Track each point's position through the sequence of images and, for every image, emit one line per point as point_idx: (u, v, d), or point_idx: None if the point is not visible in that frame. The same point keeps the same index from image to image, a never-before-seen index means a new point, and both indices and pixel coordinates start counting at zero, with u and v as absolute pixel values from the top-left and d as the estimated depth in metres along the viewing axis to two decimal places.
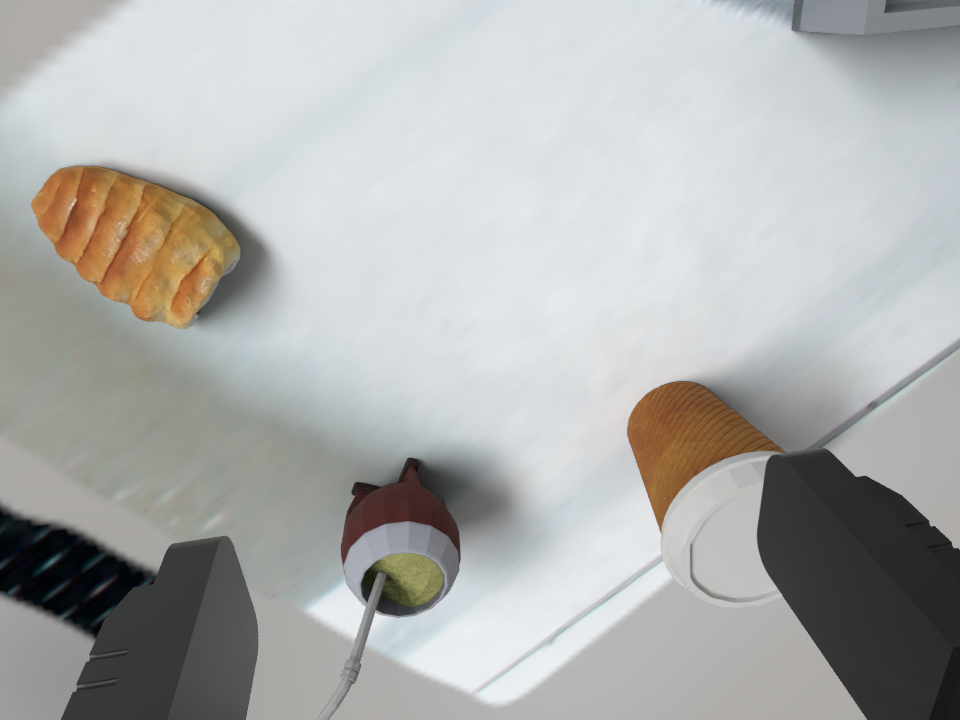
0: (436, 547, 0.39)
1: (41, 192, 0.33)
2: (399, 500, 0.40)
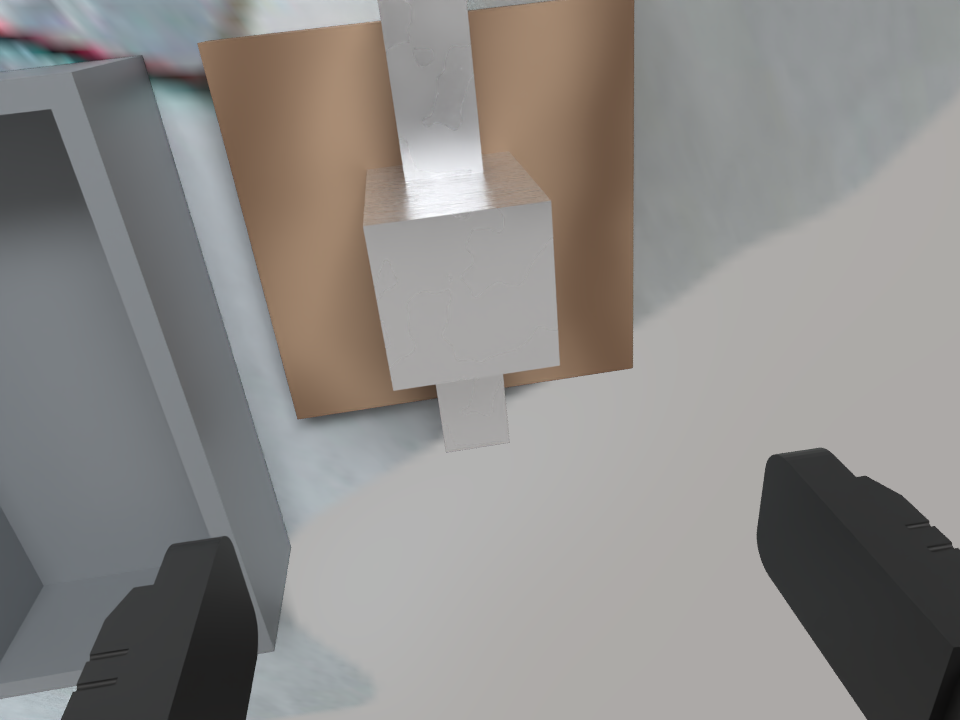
0: None
1: None
2: None
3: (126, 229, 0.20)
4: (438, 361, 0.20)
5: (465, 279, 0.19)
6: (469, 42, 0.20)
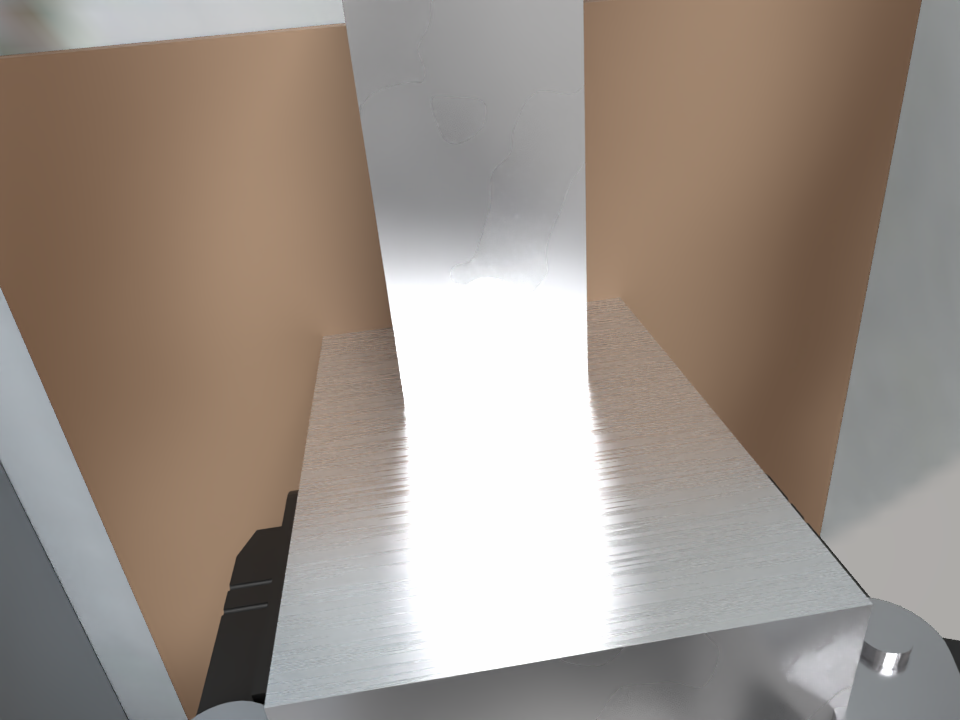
0: None
1: None
2: None
3: None
4: None
5: None
6: (580, 83, 0.08)
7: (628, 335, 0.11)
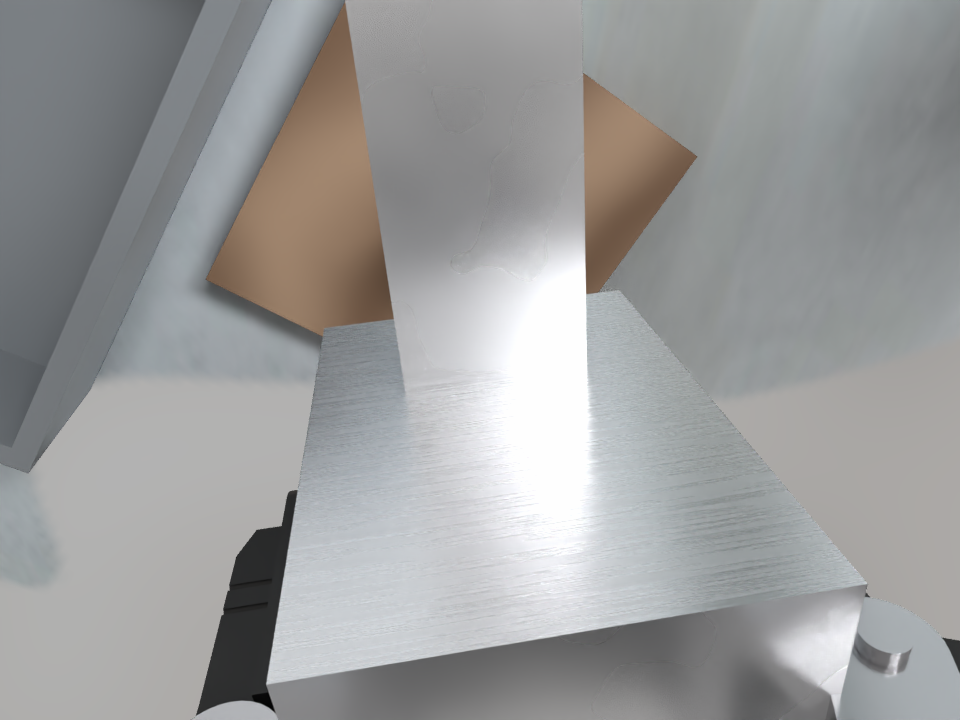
0: None
1: None
2: None
3: (236, 12, 0.19)
4: None
5: None
6: (579, 73, 0.08)
7: (627, 326, 0.11)
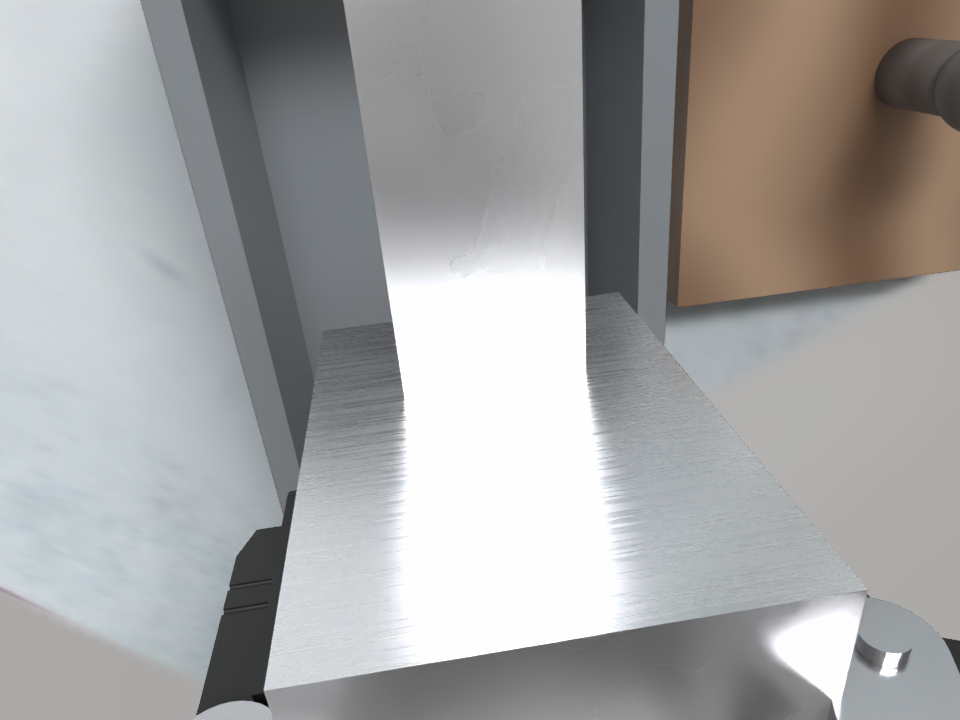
0: None
1: None
2: None
3: (678, 7, 0.16)
4: None
5: None
6: (578, 76, 0.08)
7: (626, 329, 0.11)
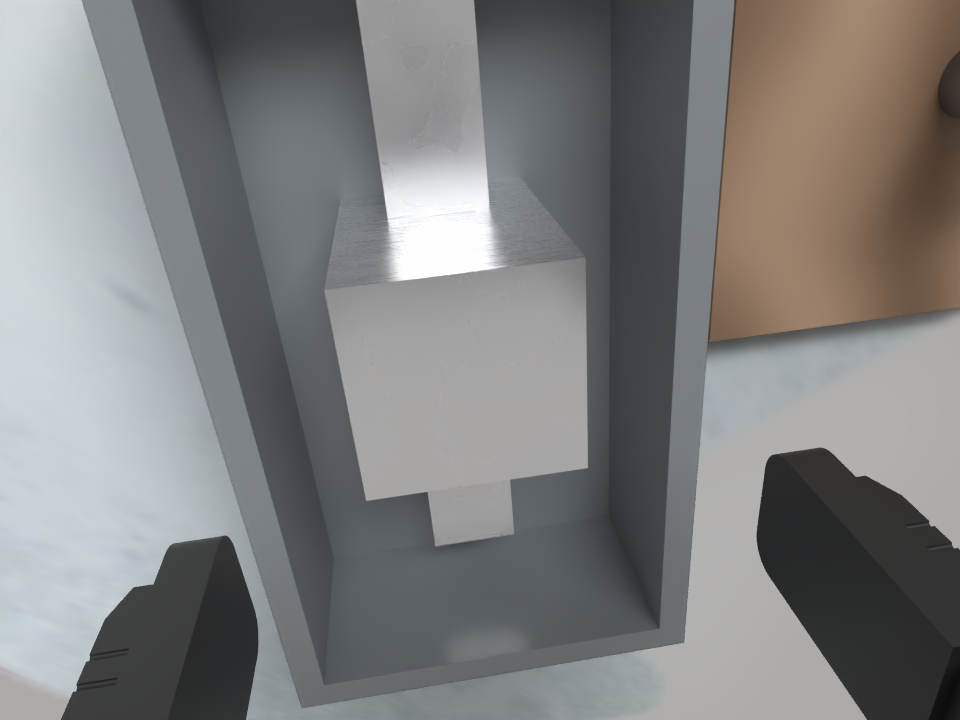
0: None
1: None
2: None
3: (733, 3, 0.13)
4: (427, 464, 0.15)
5: (465, 360, 0.14)
6: (475, 38, 0.15)
7: (518, 192, 0.18)
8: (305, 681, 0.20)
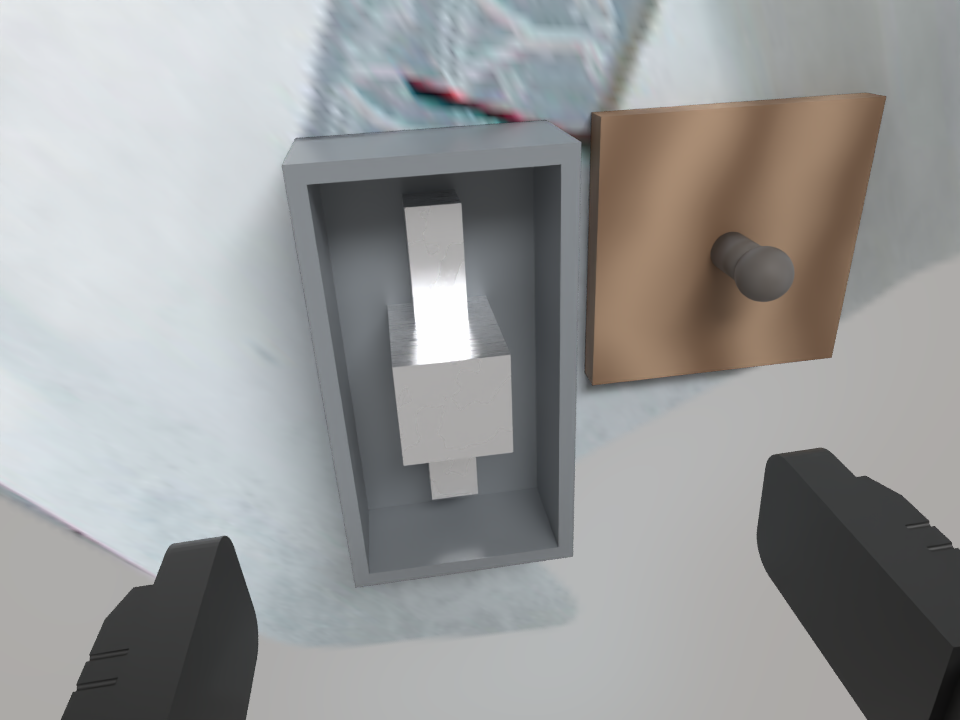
0: None
1: None
2: None
3: None
4: (434, 448, 0.31)
5: (454, 399, 0.30)
6: (462, 241, 0.31)
7: (483, 306, 0.34)
8: (358, 571, 0.36)
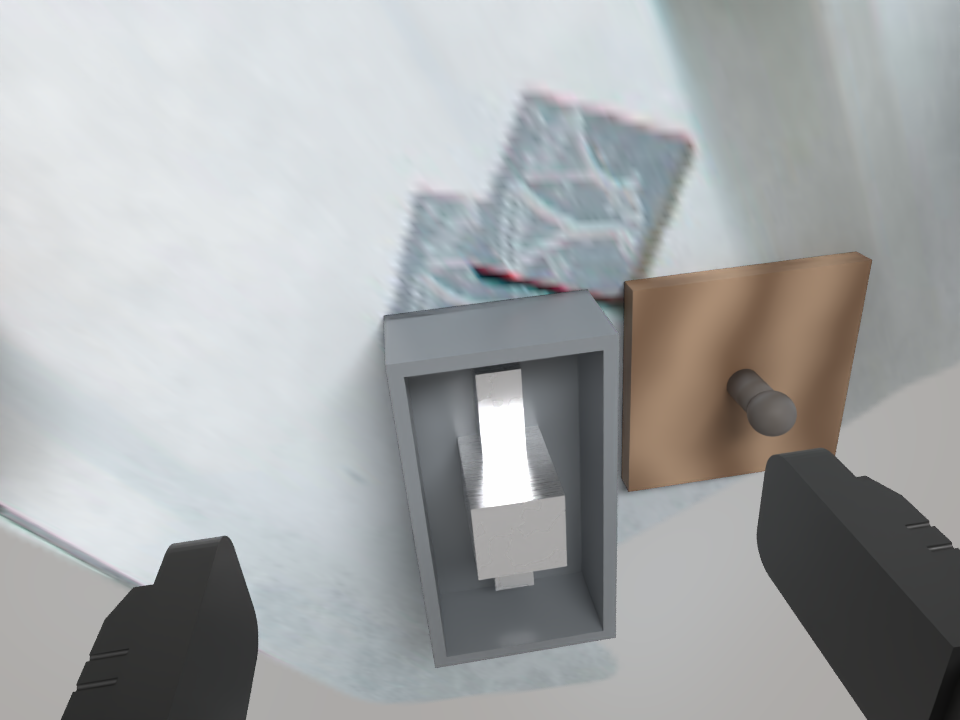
0: None
1: None
2: None
3: (618, 404, 0.36)
4: (503, 566, 0.38)
5: (519, 529, 0.37)
6: (521, 396, 0.39)
7: (537, 439, 0.41)
8: (438, 655, 0.43)
